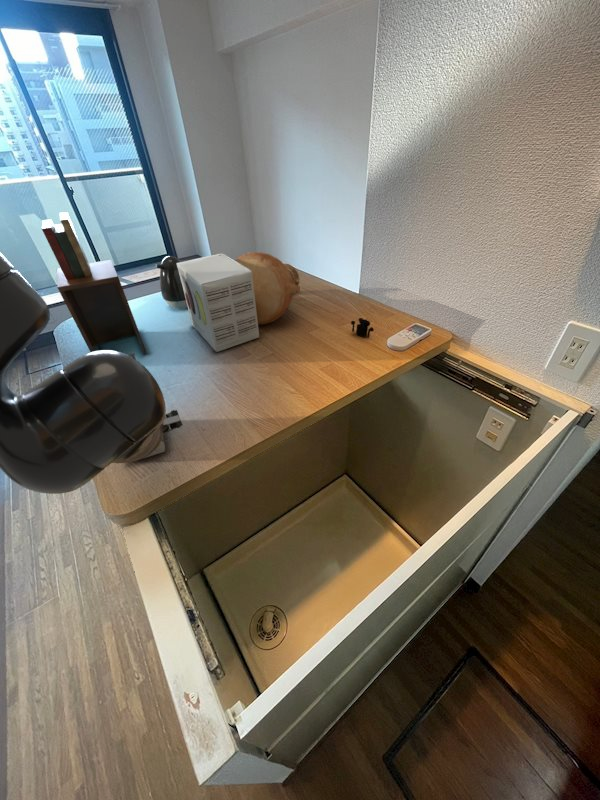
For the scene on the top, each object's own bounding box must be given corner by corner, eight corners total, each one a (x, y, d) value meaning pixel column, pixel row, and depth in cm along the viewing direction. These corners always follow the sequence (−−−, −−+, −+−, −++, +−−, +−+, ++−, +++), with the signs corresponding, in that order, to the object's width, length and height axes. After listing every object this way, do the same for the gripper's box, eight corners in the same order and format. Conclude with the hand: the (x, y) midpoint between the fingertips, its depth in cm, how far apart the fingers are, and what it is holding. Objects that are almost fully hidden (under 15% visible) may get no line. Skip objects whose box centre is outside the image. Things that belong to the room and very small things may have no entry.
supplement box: (191, 326, 94) (174, 262, 82) (233, 314, 100) (222, 252, 88) (215, 353, 83) (200, 283, 72) (260, 337, 89) (253, 270, 77)
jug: (198, 286, 87) (245, 263, 111) (243, 344, 93) (277, 310, 117) (251, 240, 76) (289, 225, 100) (296, 309, 83) (322, 279, 106)
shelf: (98, 367, 80) (26, 228, 59) (93, 343, 88) (29, 214, 68) (147, 353, 84) (96, 219, 64) (138, 332, 92) (91, 208, 72)
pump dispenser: (158, 308, 104) (142, 259, 94) (182, 296, 111) (169, 249, 101) (181, 315, 100) (168, 264, 90) (204, 302, 107) (194, 254, 97)
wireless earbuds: (348, 332, 91) (350, 316, 87) (353, 329, 92) (355, 312, 89) (370, 341, 87) (373, 324, 84) (375, 337, 89) (378, 320, 85)
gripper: (171, 382, 41) (175, 401, 57) (50, 420, 36) (92, 428, 52) (193, 438, 41) (191, 441, 57) (74, 483, 36) (109, 472, 52)
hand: (143, 435), depth 54 cm, fingers closed
